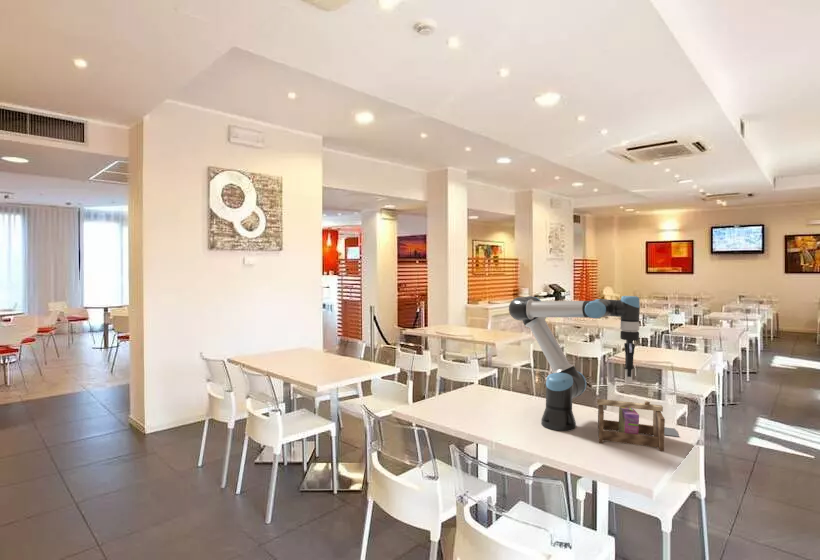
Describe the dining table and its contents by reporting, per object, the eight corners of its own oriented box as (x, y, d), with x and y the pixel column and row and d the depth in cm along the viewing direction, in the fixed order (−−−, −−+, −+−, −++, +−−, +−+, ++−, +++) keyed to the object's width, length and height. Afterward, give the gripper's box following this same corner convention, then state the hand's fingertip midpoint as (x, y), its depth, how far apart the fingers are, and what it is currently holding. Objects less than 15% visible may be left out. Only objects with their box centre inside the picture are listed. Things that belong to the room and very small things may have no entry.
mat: (653, 434, 207) (653, 433, 207) (650, 426, 218) (650, 425, 218) (679, 437, 204) (679, 436, 204) (674, 429, 214) (674, 428, 214)
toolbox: (599, 442, 196) (599, 411, 195) (597, 427, 215) (598, 399, 214) (663, 451, 187) (664, 419, 187) (656, 435, 206) (657, 405, 206)
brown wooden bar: (597, 404, 205) (597, 397, 205) (597, 402, 208) (597, 395, 208) (662, 411, 197) (662, 404, 197) (661, 409, 199) (661, 402, 199)
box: (638, 442, 197) (639, 414, 197) (624, 441, 198) (624, 413, 198) (632, 433, 207) (632, 407, 207) (618, 432, 208) (618, 406, 208)
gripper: (640, 333, 201) (639, 387, 202) (637, 329, 213) (636, 381, 214) (621, 332, 204) (620, 386, 204) (619, 328, 216) (618, 379, 217)
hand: (628, 383), depth 209 cm, fingers closed
